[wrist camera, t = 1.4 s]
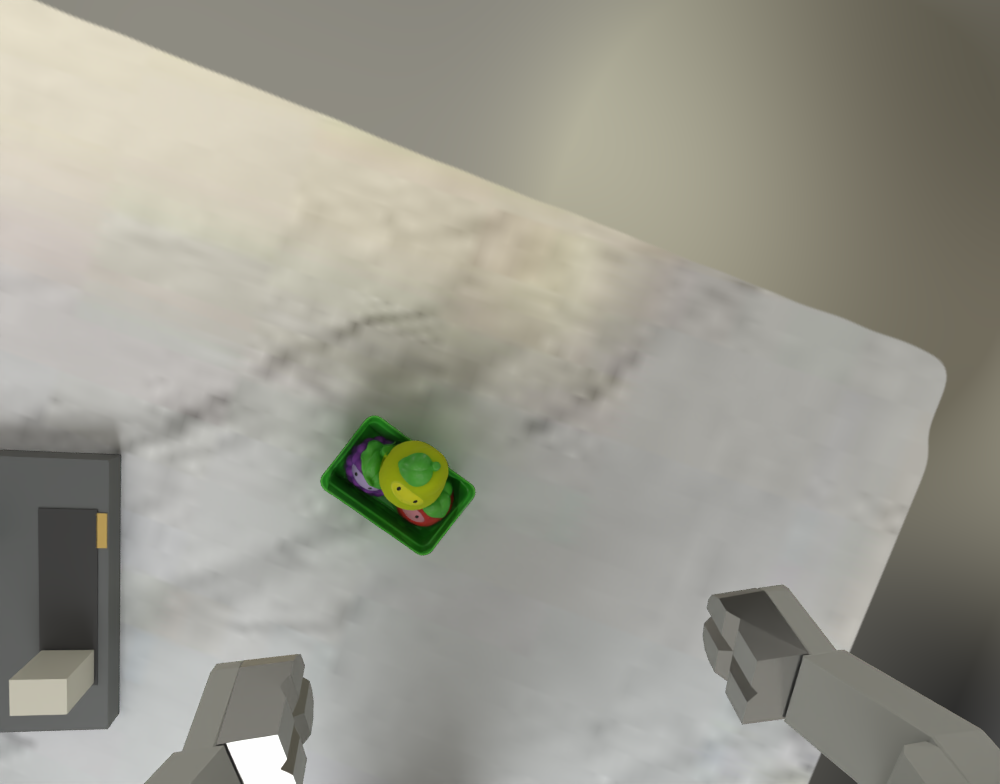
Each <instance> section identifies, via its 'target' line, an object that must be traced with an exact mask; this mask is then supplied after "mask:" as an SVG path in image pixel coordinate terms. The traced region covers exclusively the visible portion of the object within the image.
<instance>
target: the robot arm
mask: <svg viewBox="0 0 1000 784" xmlns="http://www.w3.org/2000/svg"><path fill="white" fill-rule="evenodd" d="M707 610H708V612H709V613H710V615H711V617H710V618H709V619H708V620H707V621H706V622H705V623H704V628H703V642H704V648H705V652H706V654H707V657H708V660H709V662H710V664H711V666H712V668H713V670H714V672H715V673H716V674H718V675H719V676H721V677H722V678H724V679H725V680H726V681H727V685H726V691H725V693H726V695H727V697H728V699H729V701H730V703H731V705H732V706H733V708H734V710H735V712H736V714H737V716H738V718H739V720H740V721H741V723H742V724H749V723H757V722H764V721H772V720H779V719H785V720H784V722H786V723H787V724H788V725H789V726H790V727H792V728H793V729H794V730H795V731H796V732H798V733H799V734H800V735H801V736H802V737H804V738H805V739H806V740H807V741H808V742H810V743H811V744H812V745H813V746H814V747H815V748H817V749H818V750H819V751H820V752H821V753H823V754H824V755H825V756H826V757H828V758H829V759H830V760H831V761H832V762H834V763H835V764H836V765H837V766H838V767H839V768H841V769H842V770H843V771H844V772H845V773H847V774H848V775H849V776H850V777H851V778H852V779H854V780H855V781H856V782H857V783H858V784H1000V749H999V748H998V747H997V746H996V745H995V744H994V743H993V741H992V740H991V739H990V738H989V737H988V736H987V735H986V734H985V733H984V731H983V730H982V729H980V728H978V727H976V726H975V725H973V724H971V723H969V722H968V721H966V720H964V719H963V718H961V717H959V716H957V715H956V714H954V713H952V712H950V711H949V710H947V709H945V708H944V707H942V706H940V705H938V704H937V703H935V702H933V701H931V700H930V699H928V698H926V697H925V696H923V695H921V694H919V693H918V692H916V691H914V690H913V689H911V688H909V687H907V686H906V685H904V684H902V683H900V682H899V681H897V680H895V679H893V678H892V677H890V676H888V675H887V674H885V673H883V672H881V671H880V670H878V669H876V668H875V667H873V666H871V665H869V664H868V663H866V662H864V661H863V660H861V659H859V658H857V657H856V656H854V655H852V654H850V653H849V652H847V651H845V650H836V649H835V648H834V646H833V645H832V644H831V643H830V641H829V640H828V639H827V637H826V636H825V635H824V633H823V632H822V631H821V630H820V628H819V627H818V626H817V624H816V623H815V622H814V621H813V619H812V618H811V617H810V615H809V614H808V613H807V612H806V610H805V609H804V608H803V606H802V605H801V604H800V603H799V601H798V600H797V599H796V597H795V596H794V595H793V594H792V592H791V591H790V590H789V588H787V587H786V586H784V585H776V586H769V587H762V588H758V589H757V588H752V589H746V590H739V591H733V592H726V593H720V594H714V595H711V596H710V598H709V599H708V604H707ZM304 668H305V665H304V662H303V659H302V656H301V654H295V655H286V656H277V657H269V658H260V659H251V660H244V661H236V662H228V663H220V664H216V666H215V667H214V668H213V670H212V671H211V673H210V675H209V678H208V681H207V683H206V686H205V689H204V692H203V694H202V697H201V700H200V703H199V706H198V708H197V711H196V714H195V717H194V720H193V722H192V725H191V728H190V731H189V734H188V736H187V739H186V742H185V745H184V747H183V750H182V751H181V752H175V753H173V754H172V755H171V756H170V757H169V758H168V759H167V760H166V761H165V762H164V763H163V764H162V765H161V766H160V768H159V769H158V770H157V771H156V772H155V773H154V774H153V775H152V776H151V777H150V778H149V779H148V780H147V781H146V782H145V783H144V784H303V779H304V773H305V768H306V762H307V757H306V754H305V751H304V748H303V744H304V743H305V741H306V740H307V739H308V738H309V736H310V735H311V731H312V724H313V708H314V701H313V693H312V688H311V684H310V681H308V680H307V679H305V678H304V677H303V673H304Z"/></svg>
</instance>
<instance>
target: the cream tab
mask: <svg viewBox="0 0 1000 784" xmlns="http://www.w3.org/2000/svg"><path fill="white" fill-rule="evenodd" d="M93 683H94V650H41V651H40V652H39V653H38V654H37V655H36V656H35V657H34V658H33V659H31V660H30V661H29V662H28V663H27V664H26V665H25V666H24V667H23V668H22V669H21V670H19V671H18V672H17V673H16V674H15V675H14V676H13V677H12V678H11V679H10V680H9V706H10V716H27V715H64V714H68V713H69V711H70V710H71V709H72V708H73V707H74V705H75V704H76V703H77V702H78V701H79V700H80V698H81V697H82V696H83V695H84V694H85V693H86V691H87V690H88V689H89V688H90V687H91V686H92V684H93Z"/></svg>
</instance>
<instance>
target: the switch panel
mask: <svg viewBox="0 0 1000 784" xmlns="http://www.w3.org/2000/svg"><path fill="white" fill-rule="evenodd" d="M120 497H121V455H115V454H91V453H67V452H43V451H19V450H0V732H28V731H60V730H92V729H108V728H109V727H110V725H111V724H112V722H113V721H114V720H115V718H116V717H117V716H118V714H119V642H120ZM41 650H94V683H93V684H92V686H91V687H90V688H89V689H88V690H87V691H86V693H85V694H84V695H83V696H82V697H81V698H80V700H79V701H78V702H77V703H76V704H75V705H74V707H73V708H72V709H71V710H70V711H69V713H68V714H64V715H27V716H10V706H9V680H10V679H11V678H12V677H13V676H14V675H15V674H16V673H17V672H18V671H19V670H21V669H22V668H23V667H24V666H25V665H26V664H27V663H28V662H29V661H30V660H31V659H33V658H34V657H35V656H36V655H37V654H38V653H39V652H40V651H41Z"/></svg>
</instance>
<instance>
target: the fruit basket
mask: <svg viewBox="0 0 1000 784" xmlns="http://www.w3.org/2000/svg"><path fill="white" fill-rule="evenodd" d="M320 482H321V486H322V487H323V489H324V490H325V491H327V492H328V493H330V494H331V495H333V496H334V497H336V498H337V499H339V500H340V501H342V502H343V503H344V504H346V505H348V506H349V507H351V508H352V509H354V510H355V511H356V512H358V513H359V514H361V515H362V516H364V517H365V518H366V519H368V520H369V521H371V522H372V523H374V524H375V525H376V526H378V527H379V528H381V529H382V530H384V531H385V532H387V533H388V534H390V535H391V536H393V537H394V538H395V539H397V540H398V541H399V542H401V543H402V544H404V545H405V546H407V547H408V548H409V549H411V550H412V551H414V552H415V553H417V554H419V555H427V554H429V553H431V552H432V551H433V549H434V548H435V547H436V545H437V544H438V543H439V541H440V540H441V539H442V537H443V536H444V535H445V534H446V532H447V531H448V530H449V528H450V527H451V526H452V525H453V523H454V522H455V521H456V519H457V518H458V517H459V516H460V514H461V513H462V512H463V511H464V510H465V508H466V507H467V506H468V505H469V503H470V502H471V501H472V500H473V498H474V496H475V488H474V486H473V485H472V484H471V483H469V482H468V481H467V480H465V479H464V478H462V477H461V476H460V475H458V474H457V473H456V472H454V471H453V470H451V469H450V468H449V467H448V464H447V461H446V459H445V457H444V456H443V455H442V454H441V453H440V452H439V451H437V450H436V449H435V448H434V447H432V446H430V445H429V444H427V443H424V442H421V441H412V440H411V439H409V438H408V437H407V436H405V435H404V434H403V433H401V432H400V431H398V430H397V429H396V428H394V427H393V426H392V425H390V424H389V423H388V422H386V421H385V420H384V419H382V418H381V417H379V416H370V417H368V418H367V419H366V420H365V421H364V422H363V424H362V425H361V426H360V428H359V429H358V430H357V432H356V433H355V434H354V435H353V437H352V438H351V439H350V441H349V442H348V443H347V444H346V446H345V447H344V448H343V450H342V451H341V452H340V454H339V455H338V456H337V457H336V459H335V460H334V461H333V462H332V464H331V465H330V466H329V467H328V469H327V470H326V471H325V472H324V474H323V475H322V477H321V481H320Z"/></svg>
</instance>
